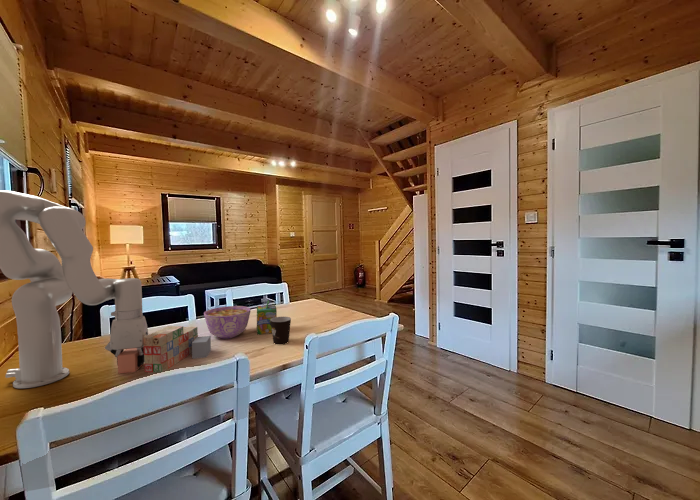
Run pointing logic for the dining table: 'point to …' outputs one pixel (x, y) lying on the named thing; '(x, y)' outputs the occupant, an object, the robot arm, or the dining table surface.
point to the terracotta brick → (128, 361)
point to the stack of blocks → (167, 347)
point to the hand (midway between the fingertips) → (131, 365)
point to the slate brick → (201, 347)
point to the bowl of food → (227, 320)
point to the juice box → (265, 318)
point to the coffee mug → (280, 329)
